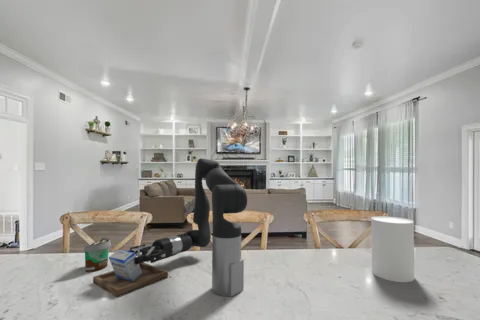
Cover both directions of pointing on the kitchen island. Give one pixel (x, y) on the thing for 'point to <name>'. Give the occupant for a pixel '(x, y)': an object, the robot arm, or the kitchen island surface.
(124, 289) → the walnut tray
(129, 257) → the medicine box
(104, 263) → the food container
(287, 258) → the kitchen island surface
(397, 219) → the canister
